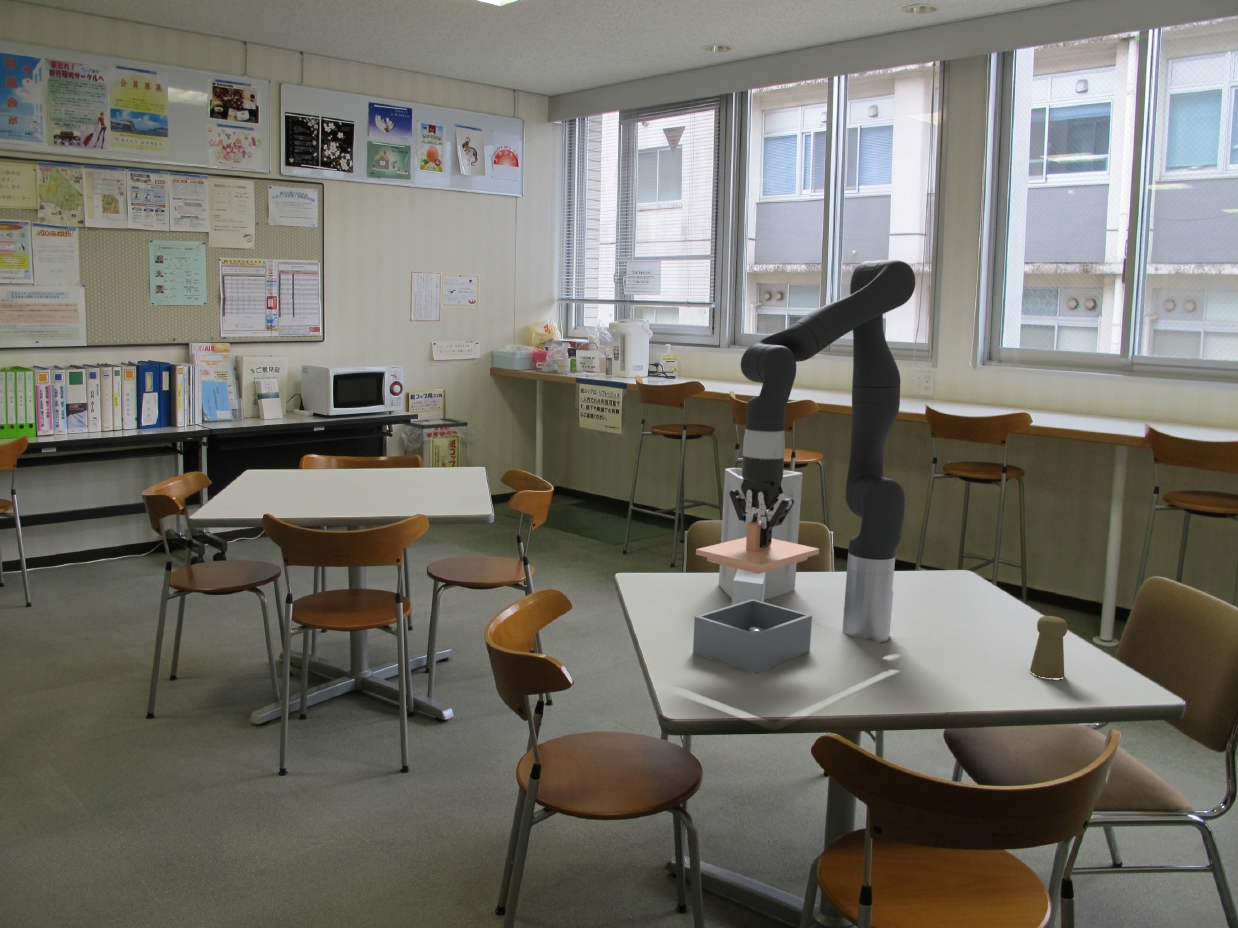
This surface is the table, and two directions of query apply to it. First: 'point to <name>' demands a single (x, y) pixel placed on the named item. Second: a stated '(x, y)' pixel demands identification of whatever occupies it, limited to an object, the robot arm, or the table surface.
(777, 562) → the lid
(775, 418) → the robot arm
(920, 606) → the table surface
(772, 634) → the tub
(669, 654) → the table surface
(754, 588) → the skincare box
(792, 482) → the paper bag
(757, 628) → the metal part
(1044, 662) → the cork
